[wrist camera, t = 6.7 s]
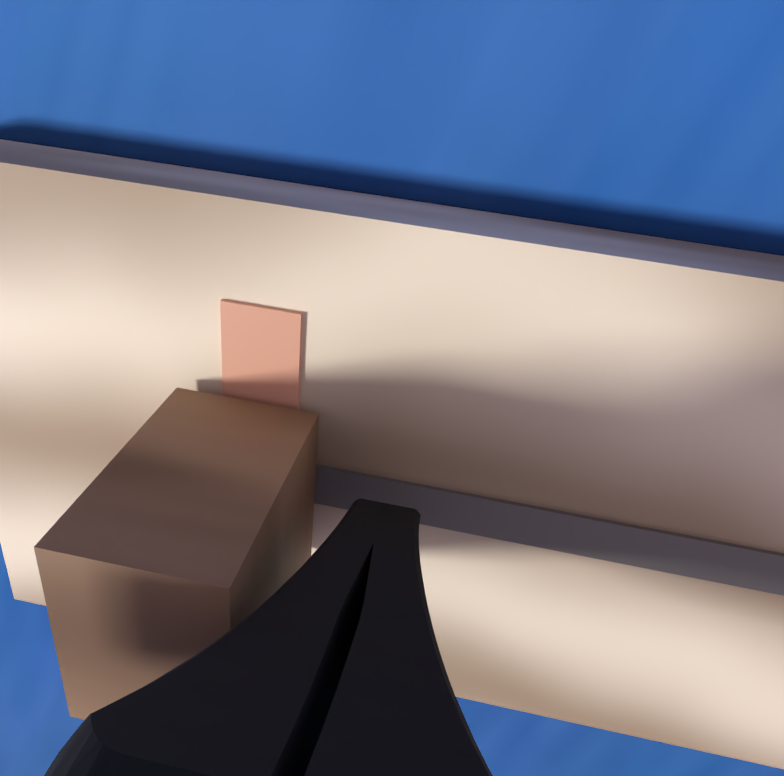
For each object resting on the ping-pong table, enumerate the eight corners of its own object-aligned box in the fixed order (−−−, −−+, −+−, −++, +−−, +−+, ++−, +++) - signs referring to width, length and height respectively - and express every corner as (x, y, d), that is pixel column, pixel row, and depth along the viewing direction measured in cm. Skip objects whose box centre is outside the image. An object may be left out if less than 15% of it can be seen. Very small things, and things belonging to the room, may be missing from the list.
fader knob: (310, 559, 16) (233, 755, 12) (186, 534, 16) (69, 716, 12) (319, 413, 14) (229, 588, 10) (176, 387, 14) (33, 546, 10)
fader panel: (1085, 783, 18) (1130, 849, 16) (46, 560, 21) (11, 601, 19) (1519, 365, 12) (1651, 416, 10) (-41, 133, 15) (-101, 148, 13)
